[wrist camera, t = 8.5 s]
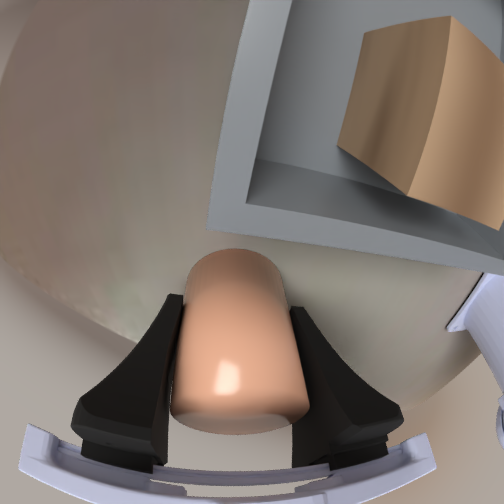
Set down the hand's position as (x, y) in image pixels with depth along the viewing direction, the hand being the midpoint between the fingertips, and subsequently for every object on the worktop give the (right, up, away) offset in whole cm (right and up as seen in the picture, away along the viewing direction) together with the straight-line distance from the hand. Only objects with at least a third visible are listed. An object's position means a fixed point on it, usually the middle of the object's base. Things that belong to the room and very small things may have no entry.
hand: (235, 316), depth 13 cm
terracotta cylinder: (0, +1, +2) cm, 2 cm away
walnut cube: (+7, +9, -4) cm, 12 cm away
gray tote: (+8, +13, -6) cm, 16 cm away
